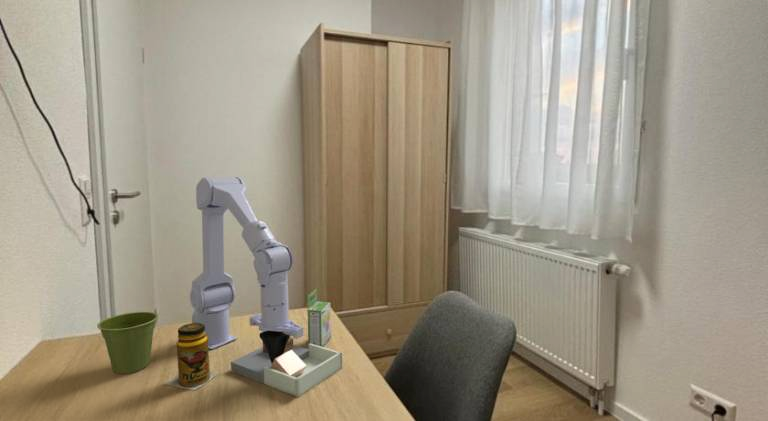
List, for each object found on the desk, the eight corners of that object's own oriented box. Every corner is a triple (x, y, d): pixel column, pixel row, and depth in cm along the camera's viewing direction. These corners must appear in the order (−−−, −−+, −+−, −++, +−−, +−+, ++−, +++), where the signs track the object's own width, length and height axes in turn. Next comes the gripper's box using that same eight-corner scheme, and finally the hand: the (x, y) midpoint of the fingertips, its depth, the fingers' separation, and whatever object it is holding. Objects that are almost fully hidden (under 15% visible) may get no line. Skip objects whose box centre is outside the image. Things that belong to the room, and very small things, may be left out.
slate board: (231, 370, 93) (230, 361, 93) (278, 347, 105) (277, 340, 105) (264, 383, 87) (264, 374, 87) (310, 357, 99) (310, 349, 99)
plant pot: (169, 366, 96) (166, 318, 94) (109, 386, 87) (105, 334, 86) (151, 351, 104) (148, 307, 102) (94, 367, 95) (91, 320, 94)
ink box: (322, 348, 104) (321, 297, 103) (307, 347, 105) (306, 296, 104) (331, 337, 111) (330, 289, 110) (317, 336, 112) (316, 288, 110)
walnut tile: (263, 351, 98) (262, 341, 98) (278, 343, 102) (278, 334, 102) (277, 356, 96) (277, 346, 95) (293, 348, 100) (293, 338, 99)
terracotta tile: (270, 366, 88) (274, 358, 87) (287, 357, 92) (291, 349, 92) (285, 383, 86) (290, 375, 85) (302, 373, 90) (306, 365, 90)
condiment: (195, 391, 85) (192, 334, 84) (162, 384, 87) (159, 330, 86) (219, 374, 92) (216, 321, 90) (188, 368, 94) (185, 318, 93)
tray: (264, 383, 87) (263, 367, 87) (310, 357, 99) (310, 343, 99) (297, 397, 82) (297, 379, 82) (342, 367, 94) (341, 352, 94)
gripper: (237, 301, 90) (240, 361, 91) (284, 313, 82) (287, 379, 83) (262, 293, 96) (264, 349, 97) (309, 303, 88) (311, 365, 89)
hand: (276, 362), depth 91 cm, fingers closed
